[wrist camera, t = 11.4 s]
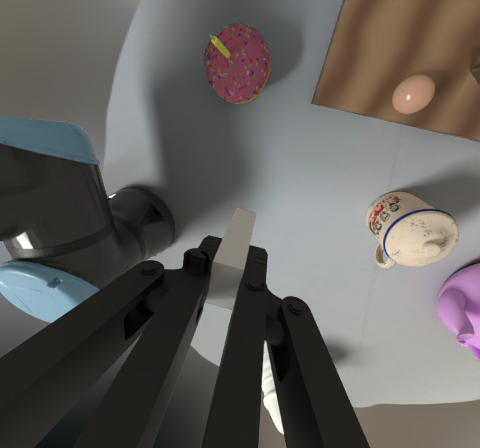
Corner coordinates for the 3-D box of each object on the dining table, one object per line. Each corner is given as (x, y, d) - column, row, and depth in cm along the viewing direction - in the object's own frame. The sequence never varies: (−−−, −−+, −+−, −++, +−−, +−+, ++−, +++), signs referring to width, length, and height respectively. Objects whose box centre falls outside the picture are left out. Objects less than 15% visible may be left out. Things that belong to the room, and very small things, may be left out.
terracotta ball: (380, 110, 30) (394, 109, 26) (396, 73, 28) (414, 67, 25) (411, 116, 30) (429, 117, 26) (429, 80, 28) (452, 76, 24)
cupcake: (203, 75, 34) (169, 58, 23) (239, 18, 30) (219, -33, 20) (245, 117, 35) (231, 119, 25) (284, 67, 32) (287, 45, 21)
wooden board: (311, 103, 33) (313, 102, 31) (375, -104, 24) (385, -126, 22) (501, 146, 32) (518, 149, 30) (647, -54, 23) (687, -72, 21)
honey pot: (319, 354, 58) (334, 446, 42) (288, 375, 63) (292, 463, 48) (278, 331, 56) (278, 417, 40) (250, 354, 62) (241, 438, 46)
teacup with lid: (382, 182, 37) (423, 209, 26) (434, 200, 37) (496, 234, 26) (345, 240, 42) (367, 281, 32) (390, 255, 42) (426, 301, 32)
